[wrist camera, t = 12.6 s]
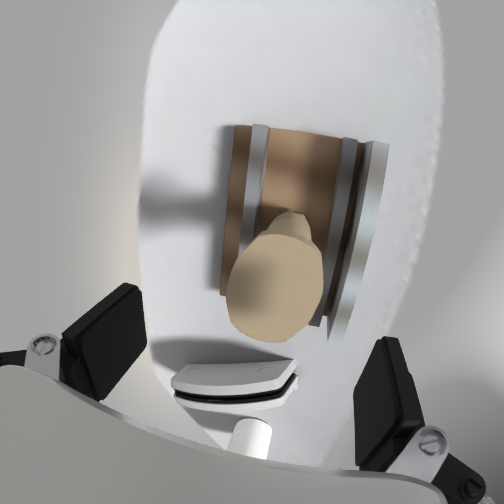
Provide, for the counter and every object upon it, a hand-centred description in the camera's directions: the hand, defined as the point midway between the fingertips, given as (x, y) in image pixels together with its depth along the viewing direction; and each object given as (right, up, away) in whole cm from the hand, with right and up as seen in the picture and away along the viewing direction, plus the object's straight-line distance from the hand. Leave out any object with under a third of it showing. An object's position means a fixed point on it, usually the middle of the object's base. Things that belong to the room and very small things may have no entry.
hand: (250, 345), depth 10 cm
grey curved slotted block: (-2, -13, +29) cm, 31 cm away
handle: (+4, +6, +19) cm, 20 cm away
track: (+4, +7, +20) cm, 21 cm away
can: (0, -27, +33) cm, 42 cm away
